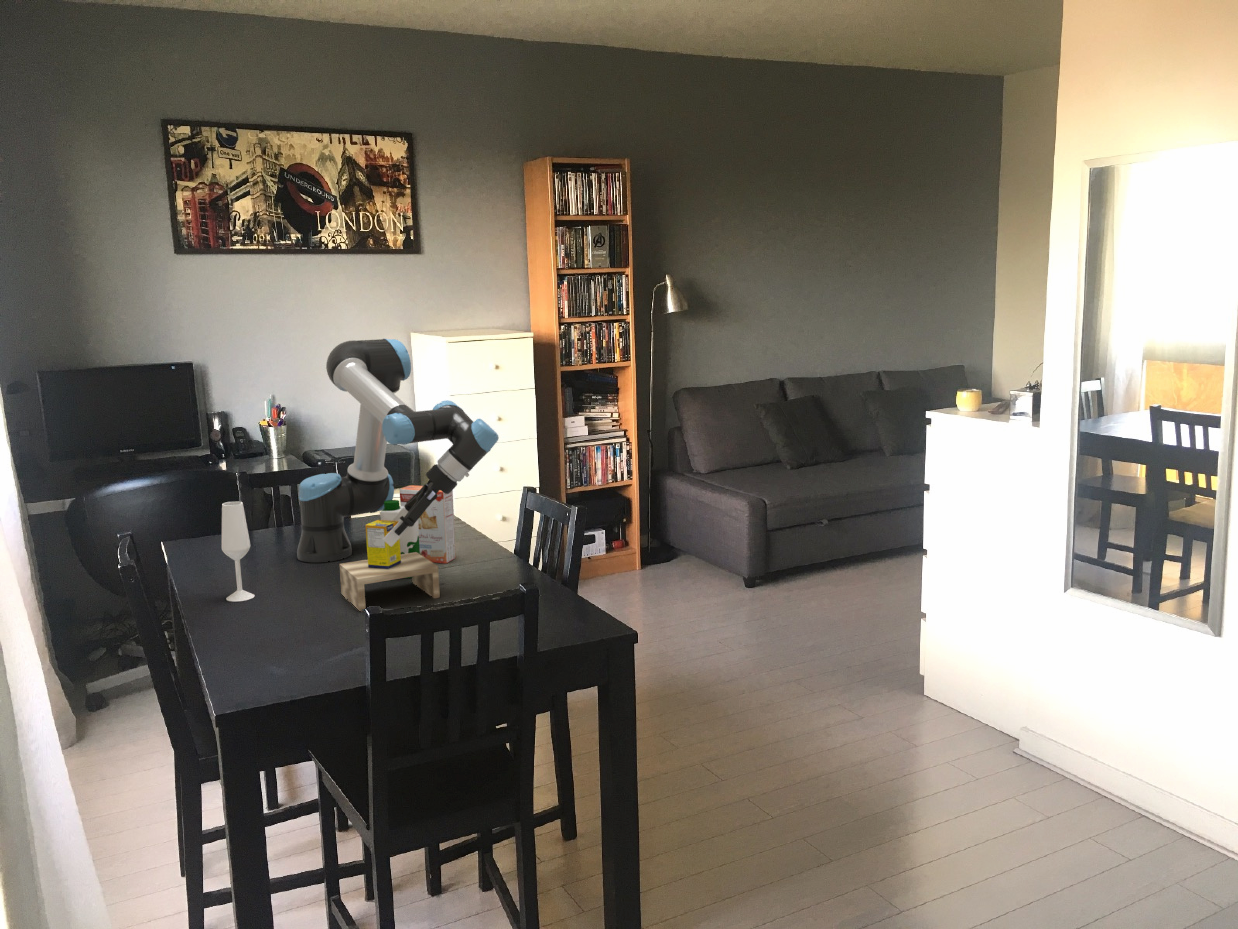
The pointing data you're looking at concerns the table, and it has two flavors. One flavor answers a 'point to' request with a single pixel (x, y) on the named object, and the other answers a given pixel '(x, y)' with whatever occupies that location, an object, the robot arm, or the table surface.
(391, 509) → the milk carton
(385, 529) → the supplement box
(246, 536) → the champagne flute
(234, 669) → the table surface
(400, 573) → the oak shelf
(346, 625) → the table surface
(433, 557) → the cracker box
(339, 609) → the table surface
